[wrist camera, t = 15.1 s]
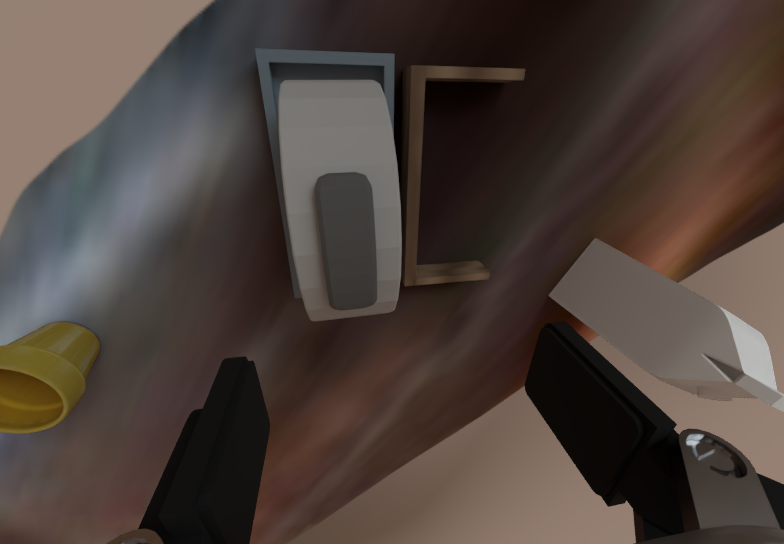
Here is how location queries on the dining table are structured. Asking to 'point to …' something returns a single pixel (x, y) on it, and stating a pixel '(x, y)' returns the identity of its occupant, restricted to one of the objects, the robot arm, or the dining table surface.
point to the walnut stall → (412, 168)
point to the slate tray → (314, 67)
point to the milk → (667, 327)
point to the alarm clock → (341, 196)
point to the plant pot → (44, 376)
